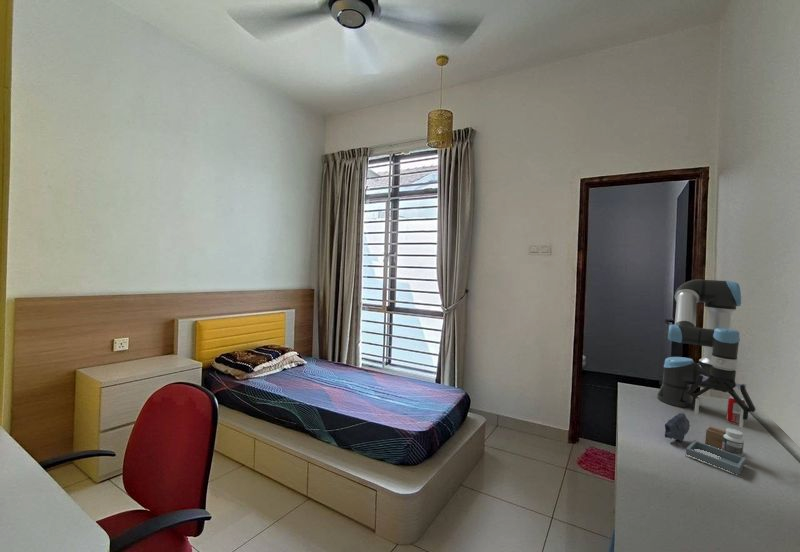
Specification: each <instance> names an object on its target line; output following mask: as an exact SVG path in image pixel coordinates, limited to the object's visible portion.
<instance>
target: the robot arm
mask: <svg viewBox="0 0 800 552" xmlns="http://www.w3.org/2000/svg"><path fill="white" fill-rule="evenodd" d="M741 293H742V292H741V286H740V284H739V282H736V281H730V280H716V279H715V280H714V279H713V280H712V279H701V278H699V279H697V278H695V279H692V280H688V281H686V282H684V283H683V284H680V286H679V287H677V289H676V291H675V293H674V299H675V300H674V301H675V302H676V304H675V305H676V306H675V318H674V324H669V325H668V335H667V338H668V339H667V340H669V341H670V342H675V343H679V344H685V345H686V344H687V345H693V346H695V345H696V346H701V347H704V348H703V357H701V358H700V359H698V362H694V360H693V358H691V357H682V356H670V357H666V358H665V359H664V364H663V368H664V369H663V375H662V376H663V377H662V383H661V384H662V385H660V388H659V390H658V391H657V395H656V398H657V399H658V401H660V402H663V403H664V404H667V405H670V406H674V407H675V406H676V407H679V408H693V407H694V412H693V414H694V415H698V414H699V409H700V400H701V398H700V397H699V396H700V395H703V394H704V393H706V392H707V391H709V390H714V391H716V392H717V391H720V392H723V393H728V394H729V396H732V397H733V398H734V399H735V401H736V402H737V403H738V404H739V405H740V407H741V408H742V410H741V412H740V421H739V425H738V428H740V429H742V428H743V427H744V420H745V421H746V420H748V418H749V412H752V413H754V412H755V411H756V406H755V405H754V403H753V400H752V398H751V397H750V395H749V393H748V391H747V384H745V383H737V382H736V374H737V372H736V369H737V365H738V353H739V345H740V340H741V339H740V331H738V330H735V329H733V328H730V327H731V319H732V318H731V317H732V313H733V312H735V311H736V309H737V307H740V306H741V305H742V294H741ZM697 303H702V304H704V308H706V310H707V316H706V317H707V318H706V328H703V327H697V325H696V324H697ZM697 388H702V389H700V390H699V391H697V392H696V393H695V391H696V390H697ZM734 388H737V389H738V390H739V391H740V393H741V395H742V398H743V399H744V401H745V403H744V402H743V401H742V400H741V399H740V397H741V396H739V395H738V393H736V390H734Z"/></svg>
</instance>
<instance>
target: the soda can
mask: <svg viewBox="0 0 800 552" xmlns="http://www.w3.org/2000/svg"><path fill="white" fill-rule="evenodd" d="M739 397H740V399H741V400H742V401H743V402H744V403H745V404H746V401H745V399H744V397H741V396H739ZM726 409H727V410H726V411H727V412H726V421H727V422H728V423H730V424H732V425H736V426H737V425H738V426H739V421H740V412H741V410H742V408H741V407H740V405H739V404H738V403H737V402H736V401H735V399H734V398H733V397H732V396H731V395H729V397H728V401H727V408H726Z"/></svg>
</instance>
